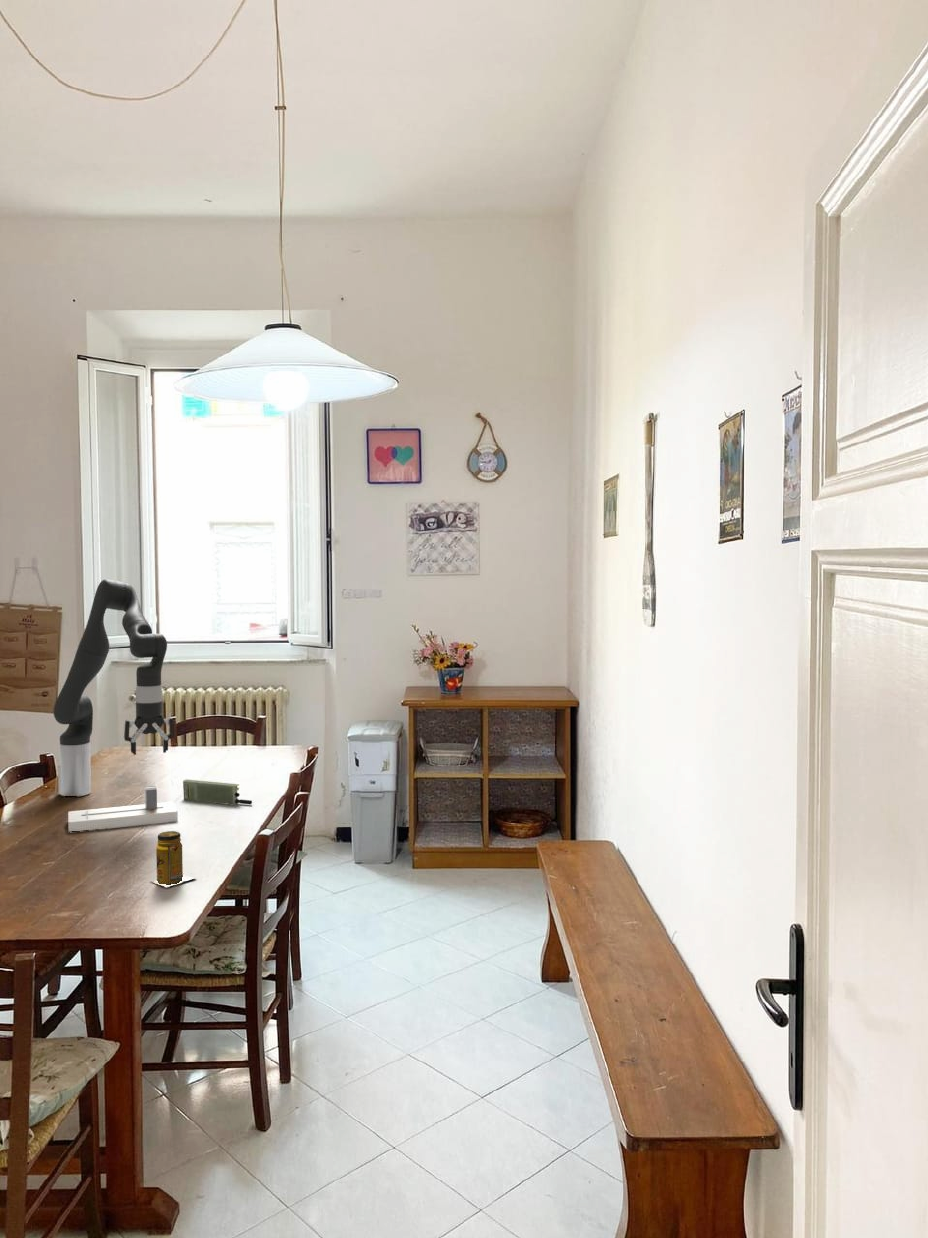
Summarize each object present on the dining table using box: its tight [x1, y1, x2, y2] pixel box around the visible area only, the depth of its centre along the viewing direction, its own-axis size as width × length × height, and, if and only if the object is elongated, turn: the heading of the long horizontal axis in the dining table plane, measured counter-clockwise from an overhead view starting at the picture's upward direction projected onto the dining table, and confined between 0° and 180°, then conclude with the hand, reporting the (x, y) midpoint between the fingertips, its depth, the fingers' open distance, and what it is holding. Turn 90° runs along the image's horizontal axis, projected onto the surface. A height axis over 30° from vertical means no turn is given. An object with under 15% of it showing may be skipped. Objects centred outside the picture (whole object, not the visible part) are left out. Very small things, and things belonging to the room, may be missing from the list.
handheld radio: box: [182, 778, 253, 805], centre depth 292 cm, size 7×3×25 cm
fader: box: [144, 785, 158, 810], centre depth 273 cm, size 3×5×6 cm, turn 24°
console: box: [67, 801, 179, 832], centre depth 270 cm, size 30×12×3 cm, turn 114°
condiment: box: [155, 830, 184, 885], centre depth 220 cm, size 7×8×12 cm
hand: (149, 753), depth 272 cm, fingers open, 8 cm apart
